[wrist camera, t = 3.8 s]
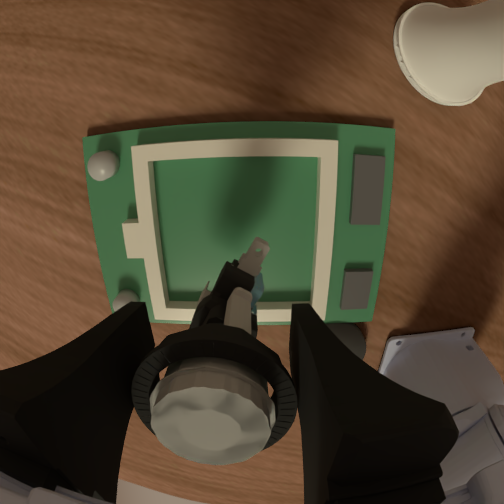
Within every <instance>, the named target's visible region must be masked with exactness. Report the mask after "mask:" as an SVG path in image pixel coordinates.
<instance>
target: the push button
mask: <svg viewBox="0 0 504 504" xmlns="http://www.w3.org/2000/svg"><path fill="white" fill-rule="evenodd" d="M268 245H269V244H268V242H267V241H265V240H263V239H261V238H259V237H255V239H254V241H253V242H252V244H251V246H250V248H249V249H248V251H247V253H246V254H245V253H243V254H242V256H241V257H240V259H239V261H238V260H236V259H234V260H233V262H232V263H230V262H228V261H226V263H225V264H224V266H223V268H222V270H221V272H220V274H219V276H218V279H217V281H216V283H215V285H214V288H213V290H212V291H211V292H210V291H208V290H207V288H208V285H209V282H210V281H208V282H207V284H206V286H205V288H204V290H203V292H202V293H201V295H200V298H199V301H198V303H197V308H196V310H195V313H194V316H193V318H192V322H191V325H190V328H189V329H188V330H184V331H181V332H177V333H174V334H170V335H168V336H167V337H166V338H165V339H164V340H163V341H162V342H161V343H160V345H159V346H157V347H155V348H154V349H153V350H152V351H150V352H149V353H148V354H147V355H146V356H145V357H144V359H143V360H142V362H141V363H140V365H139V367H138V369H137V371H136V373H135V375H134V378H133V381H132V387H131V394H132V401H133V404H134V407H135V410H136V412H137V414H138V416H139V417H140V419H141V420H142V422H143V423H144V424H145V426H146V427H147V428H148V429H149V430H150V431H151V432H152V433H153V434H154V435H156V436H157V438H158V440H159V441H160V442H161V443H162V444H163V445H164V446H165V447H166V448H168V449H170V450H171V451H172V452H174V453H175V454H176V455H178V456H181V457H183V458H185V459H187V460H191V461H194V462H197V463H203V464H211V465H226V464H231V463H237V462H242V461H246V460H247V459H249V458H250V457H252V456H254V455H255V454H257V453H258V452H260V451H262V450H264V449H266V448H268V447H270V446H272V445H273V444H274V443H276V442H277V441H279V440H280V439H281V438H282V437H283V436H284V435H285V434H286V433H287V431H288V430H289V429H290V427H291V426H292V424H293V422H294V419H295V416H296V412H297V395H296V390H295V386H294V383H293V380H292V378H291V376H290V374H289V373H288V371H287V370H286V368H285V367H284V366H283V365H282V363H281V360H280V358H279V356H278V354H277V353H275V352H274V351H272V350H271V349H270V348H268V347H267V346H266V345H264V344H263V343H261V342H260V341H259V340H257V339H256V337H257V331H258V327H257V317H258V316H257V305H255V304H256V302H257V301H258V300H259V299H260V297H261V295H262V294H263V291H264V284H263V276H262V273H260V271H261V270H262V267H260V265H261V264H262V262H263V260H264V258H265V257H266V255H267V253H268V252H269V250H270V248H269V246H268ZM256 249H261V251H259V252H257V251H255V250H256ZM167 366H168V368H167V371H166V374H165V376H164V378H163V379H161V380H160V378H159V372H160V371H162V370H163V369H164V368H166V367H167ZM267 381H268V382H269V384H270V385H271V386H272V388H273V389H274V392H273V394H272V396H271V398H270V397H269V395H268V386H267Z"/></svg>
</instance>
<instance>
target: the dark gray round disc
mask: <svg viewBox="0 0 504 504" xmlns="http://www.w3.org/2000/svg"><path fill="white" fill-rule="evenodd" d="M326 325H327V326H328V327H329V328H330V330H331V331H332V332H333V333H334V334H335V335H336V336H337V337H338V338H339V339H340V340H341V341H342V342H343V344H345V345H346V346H347V347H348V348H349V349H350V350H351V351H352V352H353V353H354V354H355V355H356V356H358V357H359V358H360V359H362V360H363V358H364V356H365V353H366V342H365V340H364V337H363V335H362V332H361V331H360V329H359V328H358V327H357V326H356V325H355V324H354V323H352V322H349V323H327V324H326Z"/></svg>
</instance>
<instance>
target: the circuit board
mask: <svg viewBox="0 0 504 504" xmlns="http://www.w3.org/2000/svg"><path fill="white" fill-rule="evenodd" d="M394 149H395V129H392V128H383V127H373V126H363V125H350V124H336V123H318V122H285V121H252V122H219V123H200V124H186V125H173V126H163V127H153V128H144V129H136V130H128V131H120V132H113V133H107V134H100V135H94V136H88V137H83V150H84V161H85V171H86V180H87V188H88V195H89V202H90V209H91V216H92V222H93V228H94V233H95V239H96V244H97V249H98V254H99V259H100V264H101V269H102V273H103V277H104V282H105V286H106V290H107V294H108V298H109V302H110V306H111V310H112V314H113V313H114V312H115V311H117V310H118V309H120V308H121V307H123V306H124V305H126V304H127V303H129V302H131V301H133V302H146V307H147V311H148V316H149V321H150V322H155V323H177V324H191V322H192V318H193V316H194V313H195V310H196V308H197V303H198V301H199V298H200V295H201V293H202V292H203V290H204V288H205V286H206V284H207V282H208V281H210V282H209V285H208V288H207V290H208V291H210V292H211V291H212V290H213V288H214V285H215V283H216V281H217V279H218V276H219V274H220V272H221V270H222V268H223V266H224V264H225V263H226V261H228V262H230V263H232V262H233V260H234V259H236V260H238V261H239V259H240V257H241V256H242V254H243V253H245V254H246V253H247V251H248V249H249V248H250V246H251V244H252V242H253V241H254V239H255V237H259V238H261V239H263V240H265V241H267V242H268V244H269V245H268V246H269V248H270V250H269V252H268V253H267V255H266V257H265V258H264V260H263V262H262V264H261V265H260V267H262V270H261V271H260V273H262V276H263V284H264V291H263V294H262V295H261V297H260V299H259V300H258V301H257V302H256V304H255V305H257V316H258V317H257V325H291V308H292V304H298V303H309V304H310V305H311V306H312V307H313V309H314V310H315V311H316V313H317V314H318V315H319V316H320V318H321V319H322V320H323V321H324V323H325V324H327V323H349V322H367V321H372V317H373V312H374V308H375V303H376V297H377V292H378V287H379V281H380V275H381V269H382V263H383V257H384V250H385V243H386V236H387V228H388V220H389V211H390V202H391V191H392V180H393V166H394ZM255 251H257V252H259V251H261V249H256V250H255Z"/></svg>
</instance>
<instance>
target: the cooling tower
mask: <svg viewBox="0 0 504 504" xmlns="http://www.w3.org/2000/svg"><path fill="white" fill-rule="evenodd" d="M393 44H394V51H395V55H396V58H397V61H398V64H399V66H400V68H401V70H402V72H403V74H404V75H405V77H406V78H407V80H408V81H409V82H410V83H411V85H412V86H413V87H414V88H415V89H416V90H417V91H418V92H419V93H421V94H422V95H423V96H425V97H426V98H428V99H429V100H431V101H433V102H436V103H438V104H442V105H447V106H462V105H466V104H469V103H471V102H473V101H474V100H476V99H477V98H478V97H479V96H480V94H481V93H482V91H483V90H484V88H485V87H487V86H489V85H491V84H493V83H496V82H500V81H504V0H488V1H486V2H483V3H480V4H477V5H473V6H468V7H461V8H449V7H447V6H444V5H441V4H438V3H430V2H427V3H420V4H417V5H415V6H413V7H411V8H410V9H408V10H407V11H405V12H404V13H403V14H402V15H401V16H400V18H399V19H398V21H397V23H396V25H395V29H394V34H393Z"/></svg>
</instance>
